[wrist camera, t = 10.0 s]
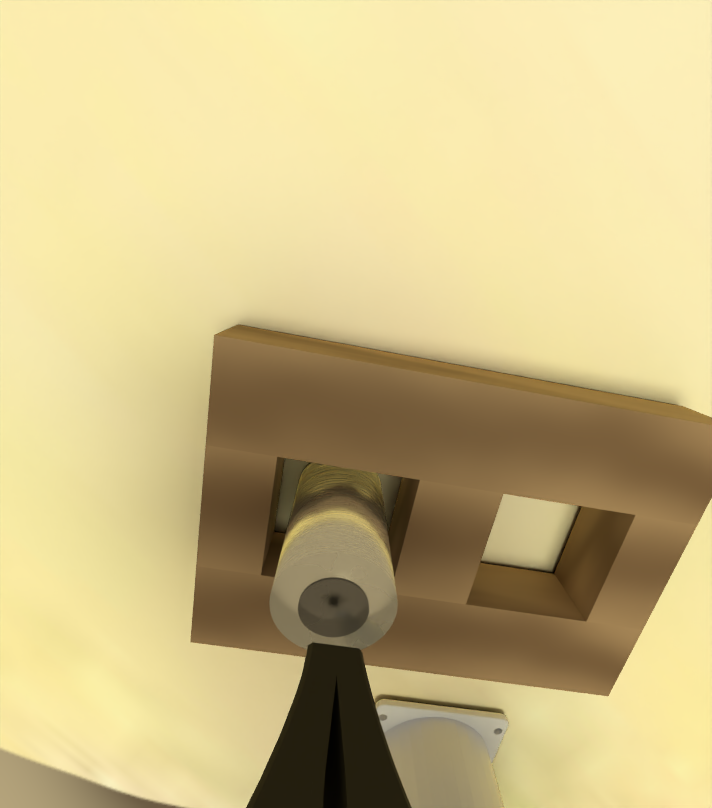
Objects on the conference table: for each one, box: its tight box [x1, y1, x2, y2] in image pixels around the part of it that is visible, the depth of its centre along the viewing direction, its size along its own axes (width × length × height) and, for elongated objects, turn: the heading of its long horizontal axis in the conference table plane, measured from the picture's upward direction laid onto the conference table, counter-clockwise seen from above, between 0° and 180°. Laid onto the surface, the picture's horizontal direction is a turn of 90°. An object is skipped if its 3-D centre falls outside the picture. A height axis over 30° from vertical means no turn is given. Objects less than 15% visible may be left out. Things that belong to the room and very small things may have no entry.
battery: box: [269, 462, 398, 650], centre depth 16 cm, size 4×4×7 cm
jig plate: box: [191, 325, 712, 696], centre depth 18 cm, size 14×20×3 cm
